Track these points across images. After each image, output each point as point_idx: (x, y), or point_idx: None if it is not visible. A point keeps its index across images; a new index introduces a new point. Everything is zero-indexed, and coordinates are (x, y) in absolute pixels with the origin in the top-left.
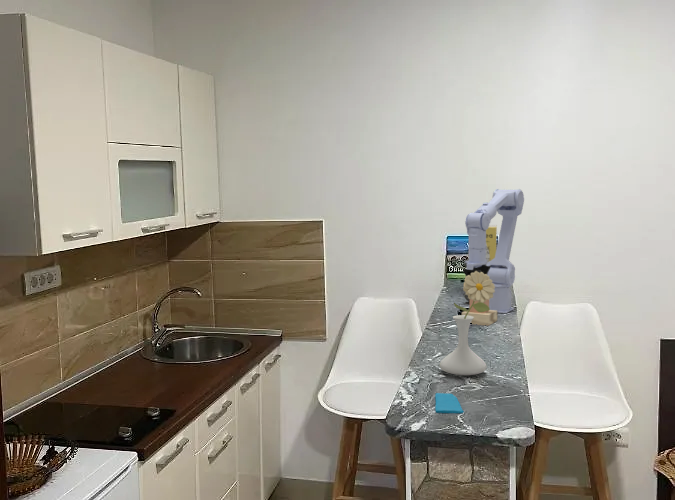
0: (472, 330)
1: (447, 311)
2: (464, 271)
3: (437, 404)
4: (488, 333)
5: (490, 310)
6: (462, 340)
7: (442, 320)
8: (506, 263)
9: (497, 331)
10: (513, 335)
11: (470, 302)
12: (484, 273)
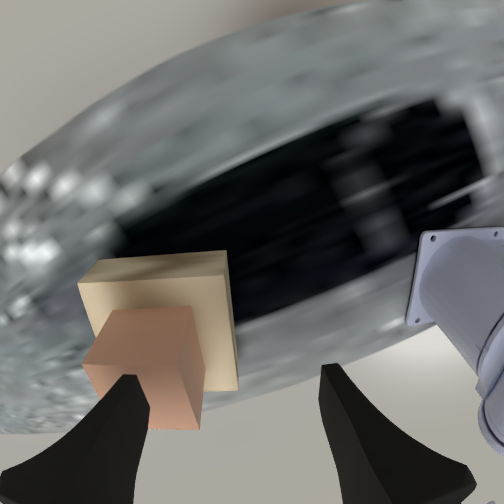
0: (38, 338)
1: (347, 54)
2: (3, 481)
3: None
4: (49, 382)
5: (221, 370)
6: None
7: (92, 153)
8: None
9: (86, 396)
10: None
11: (96, 346)
12: (346, 501)
